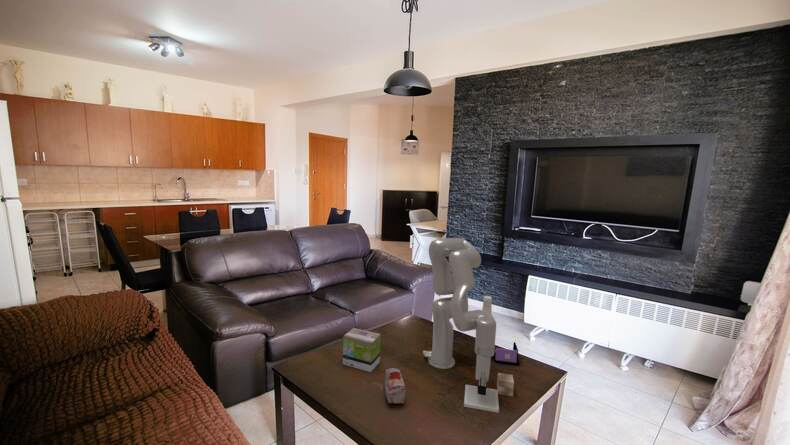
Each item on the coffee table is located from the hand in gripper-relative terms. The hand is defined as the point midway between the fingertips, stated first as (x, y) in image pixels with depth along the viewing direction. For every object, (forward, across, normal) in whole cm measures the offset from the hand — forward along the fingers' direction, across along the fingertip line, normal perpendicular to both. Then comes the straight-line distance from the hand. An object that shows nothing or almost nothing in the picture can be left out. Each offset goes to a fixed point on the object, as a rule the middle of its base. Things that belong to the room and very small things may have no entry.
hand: (481, 391), depth 138 cm
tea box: (+3, -11, -54) cm, 56 cm away
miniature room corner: (+4, -38, +12) cm, 40 cm away
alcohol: (+3, -38, +1) cm, 38 cm away
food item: (+3, +8, -34) cm, 35 cm away
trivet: (+3, 0, 0) cm, 3 cm away
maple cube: (-3, -9, +10) cm, 13 cm away
